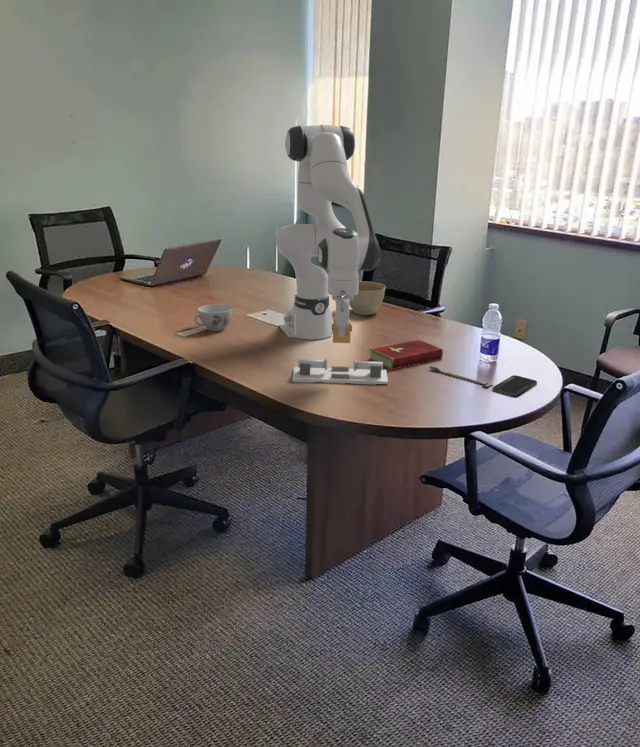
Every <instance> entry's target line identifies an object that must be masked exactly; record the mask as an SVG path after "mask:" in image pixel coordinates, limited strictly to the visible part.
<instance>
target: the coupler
mask: <svg viewBox="0 0 640 747" xmlns="http://www.w3.org/2000/svg"><path fill="white" fill-rule="evenodd" d="M335 319H336V318H333V320H332V331H333V333H332V344H337V343H338V344H351V333H352V332H353V324H352V322H351V319H349V325H348V327H347V328H345V337H339V336H338V334H339V331H338V327H336V325H335Z"/></svg>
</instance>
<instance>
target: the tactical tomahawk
mask: <svg viewBox="0 0 640 747" xmlns="http://www.w3.org/2000/svg"><path fill="white" fill-rule="evenodd" d="M429 369H431V370H434V371H436V372H437V373H438V374H441V375H444V374H445V376H447V375H448V377H451V376H453V377H452V378H455V377H456V378H455V379H458V378H460V379H459V380H462V379H463V380H462V381H465V380H467V381H466V382H469V381H470V382H469V383H472V382H473V384H477V385H479V384H480V386H481V387H482V388H483V389H489V388H491V387H494V386H493V385H492V384H488V383H489V382H487V383H483V382H481V381H479V380H475V379H472V378H469V377H465V376H462V375H459V374H455V373H451V372H449V371H447V372H445V371H442V370H441V369H440V368H438V367H435V366H429Z"/></svg>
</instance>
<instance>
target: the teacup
mask: <svg viewBox="0 0 640 747" xmlns="http://www.w3.org/2000/svg"><path fill="white" fill-rule="evenodd" d="M233 309H234V307H233V306H232V305H227V304H214V303H213V304H206V305H203V306H199V307H198V308H197V314H195V316H194V323H195V325H197V326H199V327H205V328H207V329H208V330H209V331H211V332H220V331H224V330H225V328H226V327H228V325H229V324H230V322H231V320H232V316H233ZM198 318H199V320H200V322H201V323H199V322H198V321H197V320H198Z"/></svg>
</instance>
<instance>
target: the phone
mask: <svg viewBox="0 0 640 747" xmlns="http://www.w3.org/2000/svg"><path fill="white" fill-rule="evenodd" d="M537 385H538V381H537V380H535V379H532V378H528V377H523V376H520V375H515V374H513V375H511V376H509V377H507V378H506V379H504V380H503V381H501V382H499V383H498V384H496V385H494V386H492V392H494V393H496V394H497V393H498V394H502V395H505V396H507V397H512V398H518V397H520V396H521V395H523V394H524V393H526V392H528V391H529V390H530V389H532V388H534V387H535V386H537Z"/></svg>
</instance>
